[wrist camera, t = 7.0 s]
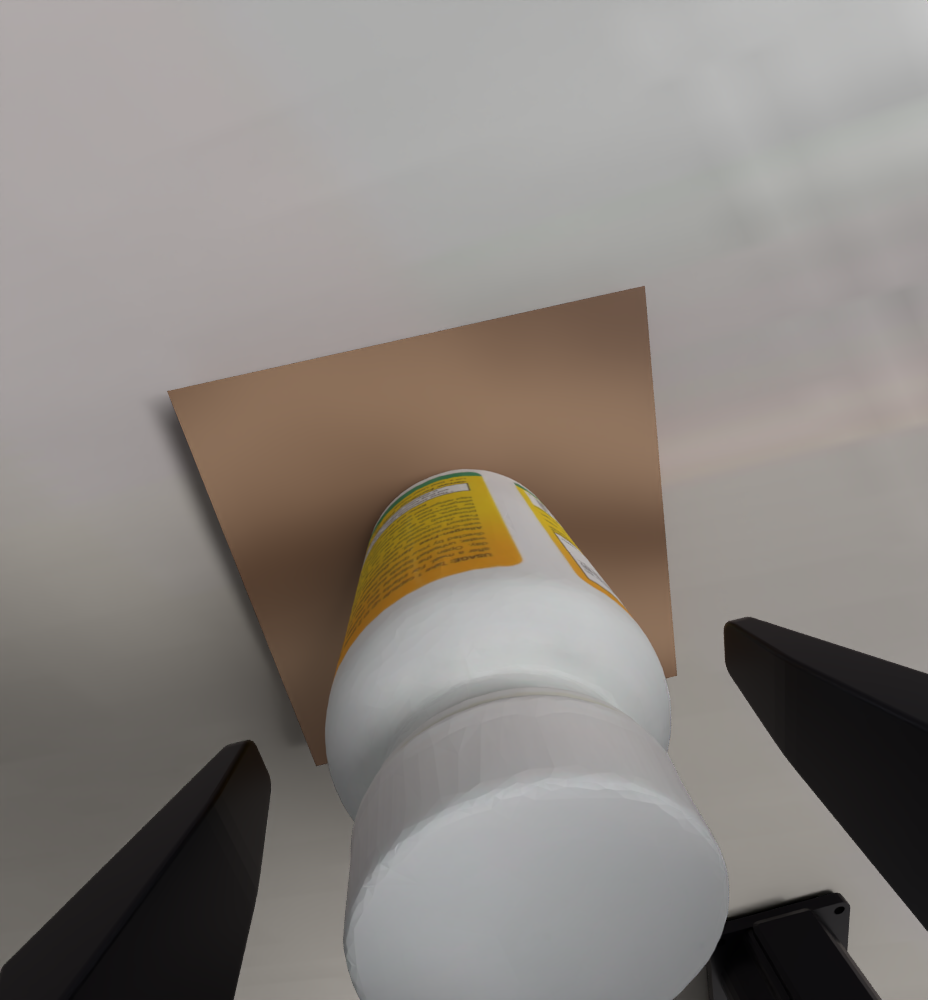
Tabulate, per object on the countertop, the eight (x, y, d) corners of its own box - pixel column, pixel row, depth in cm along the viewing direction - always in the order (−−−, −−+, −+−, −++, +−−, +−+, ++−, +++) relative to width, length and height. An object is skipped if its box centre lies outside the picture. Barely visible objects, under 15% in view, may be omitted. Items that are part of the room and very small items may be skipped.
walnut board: (659, 653, 17) (676, 675, 16) (322, 737, 17) (316, 766, 16) (624, 290, 14) (644, 285, 12) (187, 386, 13) (167, 390, 12)
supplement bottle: (582, 494, 14) (904, 779, 5) (519, 655, 15) (675, 1117, 6) (395, 439, 13) (349, 663, 4) (345, 616, 14) (224, 1091, 5)
